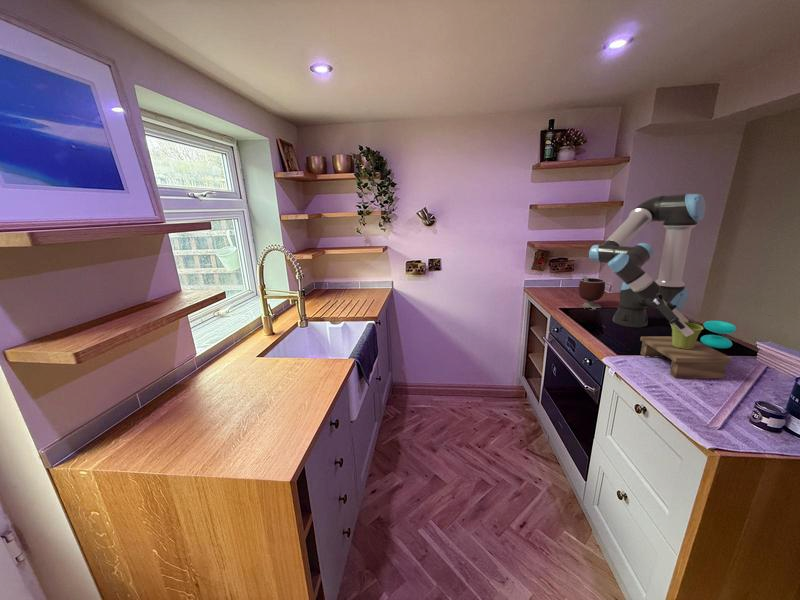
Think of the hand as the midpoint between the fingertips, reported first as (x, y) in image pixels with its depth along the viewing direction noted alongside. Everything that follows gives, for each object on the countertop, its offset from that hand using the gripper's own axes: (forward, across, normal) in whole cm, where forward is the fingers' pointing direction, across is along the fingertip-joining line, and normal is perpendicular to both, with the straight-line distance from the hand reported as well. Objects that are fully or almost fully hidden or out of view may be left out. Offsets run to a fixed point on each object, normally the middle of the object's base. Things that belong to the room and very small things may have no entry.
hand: (687, 328), depth 118 cm
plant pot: (+5, 0, -6) cm, 8 cm away
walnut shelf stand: (+11, 0, -11) cm, 15 cm away
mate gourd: (-15, -70, -38) cm, 81 cm away
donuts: (+22, -31, -1) cm, 37 cm away
